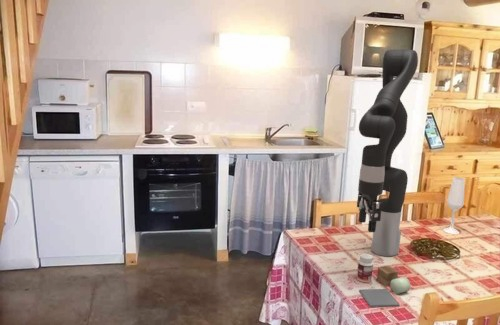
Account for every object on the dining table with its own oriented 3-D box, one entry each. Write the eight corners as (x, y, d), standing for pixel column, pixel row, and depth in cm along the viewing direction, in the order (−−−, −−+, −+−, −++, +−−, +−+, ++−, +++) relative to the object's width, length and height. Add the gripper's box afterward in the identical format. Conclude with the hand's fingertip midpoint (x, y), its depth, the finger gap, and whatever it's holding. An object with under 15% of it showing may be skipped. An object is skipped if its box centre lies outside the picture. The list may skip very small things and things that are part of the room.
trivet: (386, 290, 134) (386, 288, 134) (399, 306, 125) (399, 304, 125) (359, 291, 133) (359, 289, 133) (370, 307, 124) (370, 305, 124)
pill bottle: (354, 275, 143) (357, 252, 141) (368, 275, 143) (370, 252, 141) (359, 282, 138) (361, 259, 136) (373, 282, 138) (376, 259, 137)
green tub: (391, 292, 134) (400, 289, 136) (401, 294, 130) (411, 292, 132) (389, 278, 134) (399, 275, 136) (400, 280, 130) (409, 278, 132)
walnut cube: (387, 277, 142) (389, 265, 141) (396, 284, 138) (398, 271, 137) (376, 279, 141) (378, 267, 140) (385, 286, 137) (387, 273, 136)
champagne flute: (451, 234, 182) (459, 181, 177) (439, 229, 188) (446, 177, 183) (462, 232, 185) (471, 180, 180) (450, 227, 191) (458, 176, 186)
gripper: (392, 184, 127) (386, 235, 130) (374, 173, 141) (369, 219, 144) (368, 184, 126) (363, 235, 130) (352, 172, 140) (348, 219, 143)
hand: (366, 226), depth 137 cm, fingers open, 8 cm apart
